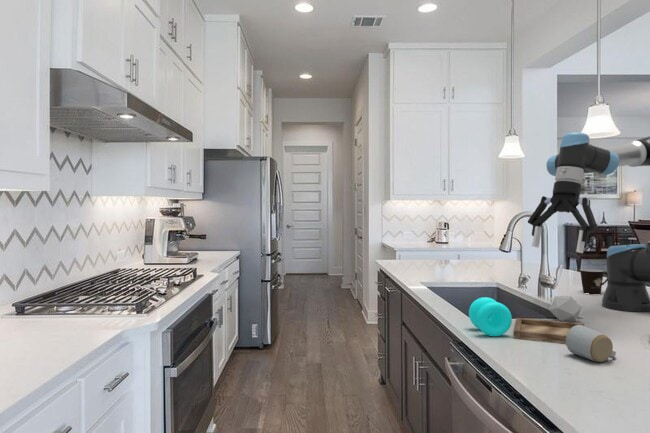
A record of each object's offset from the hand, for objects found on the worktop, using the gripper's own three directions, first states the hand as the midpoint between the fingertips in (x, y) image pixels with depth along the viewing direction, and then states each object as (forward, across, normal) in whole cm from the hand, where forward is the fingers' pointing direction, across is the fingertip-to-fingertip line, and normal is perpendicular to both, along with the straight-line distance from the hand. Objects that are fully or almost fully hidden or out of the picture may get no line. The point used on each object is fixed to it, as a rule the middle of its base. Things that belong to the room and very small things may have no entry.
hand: (556, 249), depth 134 cm
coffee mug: (+11, -16, +70) cm, 72 cm away
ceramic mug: (+27, +21, -15) cm, 37 cm away
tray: (+25, +4, -4) cm, 26 cm away
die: (+22, -1, +16) cm, 27 cm away
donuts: (+29, -7, -16) cm, 34 cm away
